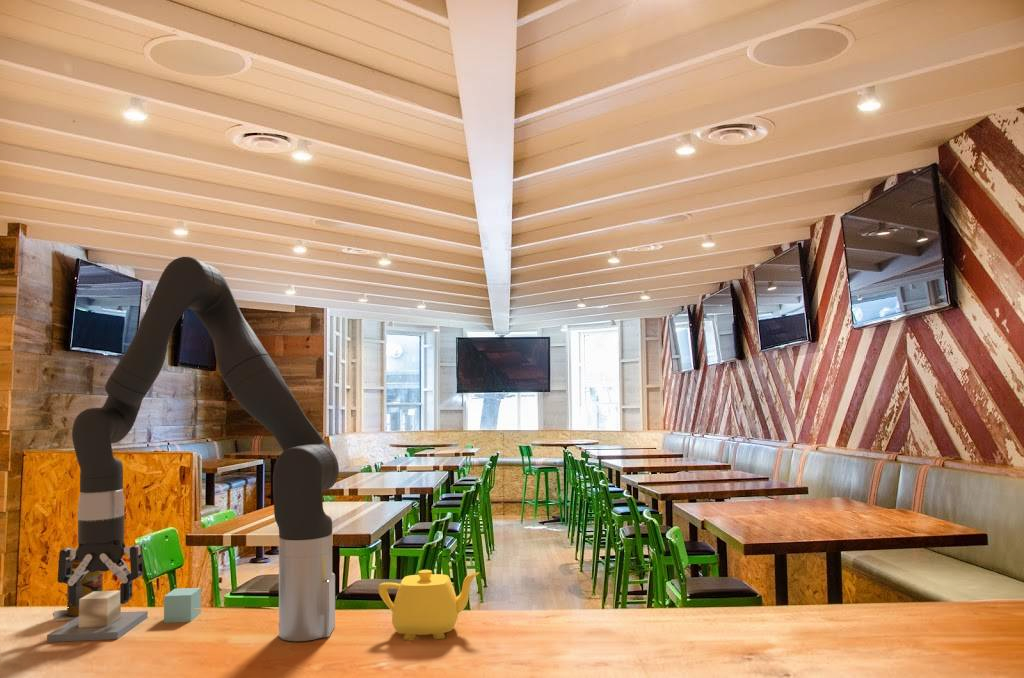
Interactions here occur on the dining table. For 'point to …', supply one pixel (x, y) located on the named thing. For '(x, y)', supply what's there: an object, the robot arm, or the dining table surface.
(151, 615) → the dining table surface
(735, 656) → the dining table surface
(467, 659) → the dining table surface
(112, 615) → the block birch
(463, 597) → the teapot
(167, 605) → the block teal
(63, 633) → the plate
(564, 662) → the dining table surface
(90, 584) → the condiment
